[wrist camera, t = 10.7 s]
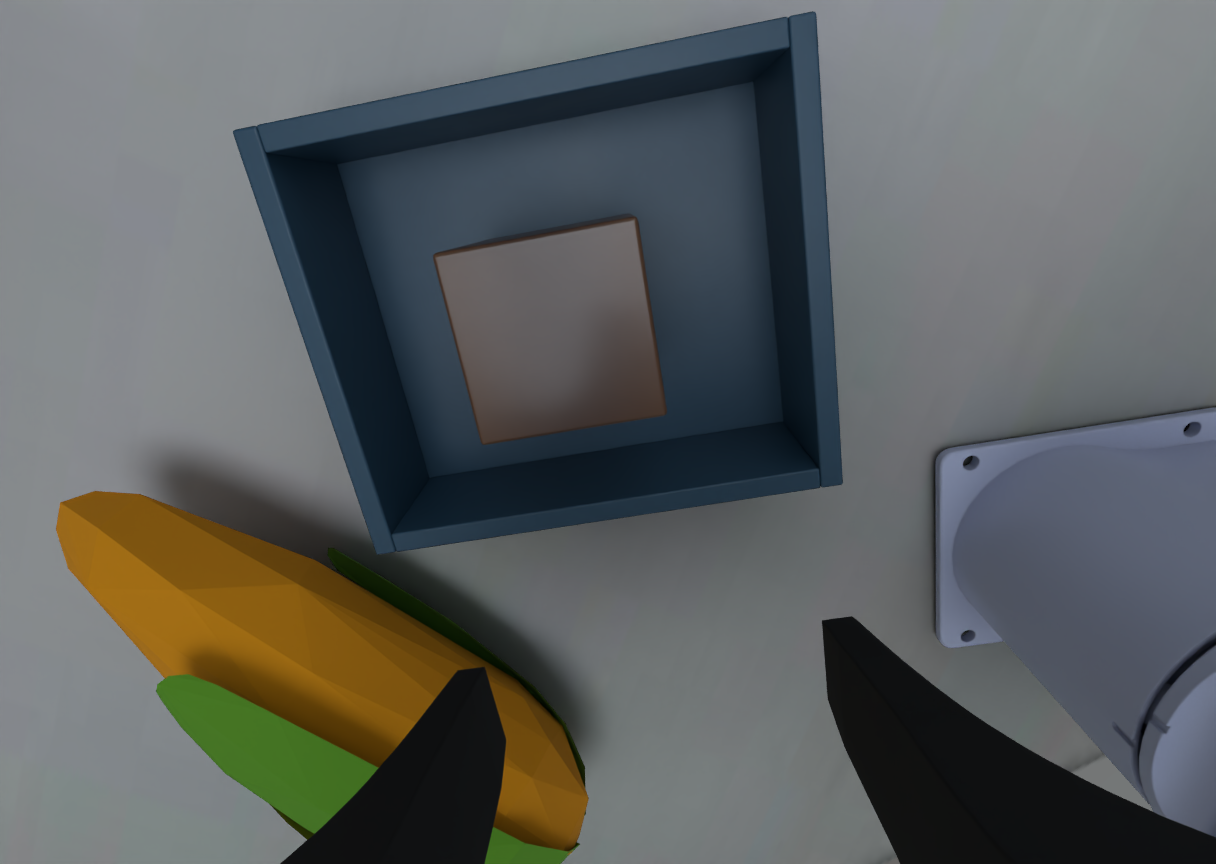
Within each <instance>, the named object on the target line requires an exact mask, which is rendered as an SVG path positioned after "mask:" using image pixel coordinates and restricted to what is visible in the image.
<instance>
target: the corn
mask: <svg viewBox="0 0 1216 864" xmlns="http://www.w3.org/2000/svg"><path fill="white" fill-rule="evenodd" d="M56 531H57V534H58V537H59V541H60V544H61V547H62V550H63V553H64V556H65V560H66V563H67V566H68V569H69V570H70V571H71V572H72V573H73V574H74V575H75V577H76V578H77V579H78V580H79V581H80V582H81V583H82V585H83V586H84V587H85V588H86V589H87V590H88V591H89V593H90V594H91V595H92V596H93V597H94V598H95V599H96V601H97V602H98V603H99V604H100V605H101V606H102V607H103V609H104V610H105V611H106V612H107V613H108V614H109V615H110V616H111V618H112V619H113V620H114V621H115V622H116V623H117V624H118V626H119V627H120V628H121V629H122V630H123V631H124V632H125V634H126V635H127V636H128V637H129V638H130V639H131V640H132V642H133V643H134V644H135V645H136V646H137V647H138V648H139V650H140V651H141V652H142V653H143V654H144V655H145V656H146V657H147V659H148V660H149V661H150V662H151V663H152V664H153V665H154V667H155V668H156V669H157V670H158V671H159V672H160V673H161V675H162V676H163V677H164V678H165V679H164V680H163V681H161V682H160V683H159V684H158V685H157V690H156V692H157V694H158V695H159V697H160V698H161V700H162V702H163V703H164V705H165V706H166V707H167V709H168V710H169V711H170V713H171V714H172V715H173V717H174V718H175V719H176V721H177V722H178V723H179V725H180V726H181V728H182V729H183V730H184V731H185V732H186V733H187V734H188V735H189V736H190V737H191V738H192V739H193V740H194V741H195V742H196V743H197V744H198V745H199V746H200V747H201V748H202V750H203V751H204V752H205V753H206V754H207V755H208V756H209V757H210V758H211V759H212V760H213V761H214V762H215V763H216V764H217V765H218V766H219V767H220V768H221V769H222V770H223V772H224V773H225V774H227V775H228V776H230V777H231V778H233V779H234V780H236V781H237V782H239V783H240V784H241V785H243V786H244V787H246V788H247V789H249V790H250V791H252V792H253V793H255V794H256V795H257V796H259V797H260V798H262V799H263V800H265V801H266V802H268V803H269V804H270V805H271V806H272V807H273V808H274V809H275V810H276V811H277V813H278V814H279V815H280V816H281V817H282V818H283V819H284V820H285V821H286V822H287V823H288V824H289V825H290V826H292V827H293V828H294V829H295V830H296V831H298V832H299V833H300V834H301V835H302V836H304V837H305V838H306V839H307V840H308V839H309V838H310V837H312V836H313V835H314V834H315V833H316V832H317V831H318V830H319V829H320V828H321V827H322V826H324V825H325V824H326V823H327V822H328V821H329V820H330V819H331V818H332V817H333V816H334V815H335V814H336V813H337V812H338V811H339V810H340V809H341V808H342V807H343V806H344V805H345V804H346V803H347V802H348V801H349V800H350V799H351V798H352V797H353V796H354V795H355V794H356V793H357V792H358V791H359V789H360V788H361V787H362V786H363V785H364V784H365V783H366V782H367V781H368V780H369V778H370V777H371V776H372V775H373V774H374V773H375V772H376V770H377V769H378V768H379V767H380V766H381V765H382V764H383V762H384V761H385V760H386V759H387V758H388V757H389V756H390V754H391V753H392V752H393V751H394V750H395V749H396V748H397V746H398V745H399V744H400V743H401V741H402V740H403V739H404V738H405V736H406V735H407V734H408V733H409V731H410V730H411V729H412V728H413V727H414V725H415V724H416V723H417V722H418V720H419V719H420V718H421V716H422V715H423V714H424V713H425V711H426V710H427V709H428V707H429V706H430V705H431V704H432V702H433V701H434V700H435V698H436V697H437V696H438V694H439V693H440V692H441V691H442V689H443V688H444V687H445V686H446V684H447V683H448V682H449V680H450V679H451V678H452V677H453V675H454V674H455V673H456V672H457V670H464V669H471V668H478V667H485V669H486V672H487V676H488V679H489V683H490V686H491V689H492V693H493V696H494V700H495V703H496V706H497V710H498V713H499V716H500V720H501V723H502V727H503V730H504V733H505V737H506V750H505V761H504V771H503V779H502V788H501V793H500V798H499V802H498V807H497V811H496V816H495V820H494V825H493V829H492V834H491V838H490V842H489V847H488V851H487V856H486V860H485V864H561V863H562V862H563V861H564V860H565V858H566V857H567V856H568V855H569V854H570V853H572V851H573V850H575V849H576V848H577V847H578V846H579V845H580V844H579V843H577V840H578V837H579V835H580V831H581V827H582V823H583V819H584V816H585V814H586V807H587V803H588V799H589V798H588V795H587V792H586V790H585V766H584V764H583V762H582V760H581V757H580V755H579V753H578V751H577V748H576V746H575V744H574V742H573V740H572V737H571V735H570V733H569V731H568V728H567V726H566V724H565V723H564V721H563V720H562V719H561V718H560V717H559V715H558V714H557V713H556V712H555V711H554V709H553V708H552V707H551V706H550V705H549V703H548V702H547V701H546V700H545V699H544V697H543V696H542V695H541V694H540V693H539V691H538V690H537V689H536V688H535V687H534V686H533V685H532V684H530V683H529V682H528V681H527V680H525V679H524V678H523V677H522V676H520V675H519V674H518V673H517V672H515V671H514V670H513V669H512V668H510V667H509V666H508V665H507V664H505V663H504V662H503V661H502V660H500V659H499V658H498V657H497V656H495V655H494V654H493V653H492V652H490V651H489V650H488V649H487V648H485V647H484V646H483V645H482V644H480V643H479V642H478V641H477V640H475V639H474V638H473V637H472V636H470V635H469V634H468V633H467V632H465V631H464V630H463V629H462V628H460V627H459V626H458V625H457V624H455V623H454V622H453V621H451V620H449V619H448V618H446V617H445V616H443V615H441V614H440V613H438V612H437V611H435V610H434V609H432V608H430V607H429V606H427V605H426V604H424V603H423V602H421V601H419V600H418V599H416V598H415V597H413V596H412V595H410V594H408V593H407V592H405V591H404V590H402V589H400V588H399V587H397V586H396V585H394V584H393V583H391V582H389V581H388V580H386V579H385V578H383V577H381V576H380V575H378V574H376V573H375V572H373V571H371V570H369V569H368V568H366V567H364V566H363V565H361V564H359V563H358V562H356V561H354V560H353V559H351V558H349V557H348V556H346V555H344V554H343V553H341V552H339V551H338V550H336V549H334V548H328V554H327V555H328V557H329V558H330V560H331V561H332V563H333V564H334V566H335V567H336V569H337V570H338V571H339V572H341V573H342V574H344V575H345V576H347V577H348V578H350V579H351V580H353V581H354V582H356V583H357V584H359V585H360V586H359V585H357V584H355V583H354V582H352V581H350V580H349V579H347V578H345V577H343V576H342V575H340V574H338V573H336V572H335V571H333V570H331V569H330V568H328V567H326V566H324V565H323V564H321V563H319V562H318V561H316V560H314V559H311V558H308V557H306V556H303V555H300V554H298V553H295V552H292V551H290V550H287V549H284V548H282V547H279V546H276V545H274V544H271V543H268V542H266V541H263V540H260V539H258V538H255V537H252V536H250V535H247V534H244V533H242V532H239V531H236V530H234V529H231V528H228V527H226V526H223V525H220V524H218V523H215V522H212V521H210V520H207V519H204V518H202V517H199V516H196V515H194V514H191V513H188V512H186V511H183V510H181V509H178V508H175V507H173V506H170V505H167V504H165V503H162V502H159V501H157V500H154V499H151V498H149V497H146V496H143V495H141V494H130V493H115V492H101V491H94V492H91V493H88V494H85V495H82V496H79V497H76V498H73V499H70V500H67V501H64V502H61V503H60V508H59V514H58V520H57V526H56ZM361 586H362V587H363V588H362V587H361ZM364 588H365V589H364ZM367 590H368V591H367ZM369 591H370V592H369ZM372 593H373V594H372Z"/></svg>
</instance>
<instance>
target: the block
mask: <svg viewBox="0 0 1216 864" xmlns="http://www.w3.org/2000/svg"><path fill="white" fill-rule="evenodd" d="M433 261H434V265H435V268H436V272H437V276H438V280H439V284H440V288H441V291H442V295H443V299H444V303H445V307H446V311H447V315H448V318H449V322H450V326H451V330H452V334H453V338H454V341H455V345H456V349H457V353H458V357H459V361H460V364H461V368H462V372H463V376H464V380H465V384H466V388H467V391H468V395H469V399H470V403H471V407H472V411H473V414H474V418H475V422H476V426H477V430H478V434H479V438H480V441H481V443H482V444H483V445H488V444H494V443H500V442H506V441H512V440H518V439H524V438H531V437H537V436H543V435H549V434H555V433H561V432H568V431H574V430H580V429H586V428H592V427H598V426H605V425H611V424H617V423H623V422H629V421H635V420H641V419H648V418H654V417H660V416H664V415H666V414H667V407H666V400H665V393H664V387H663V380H662V374H661V367H660V361H659V354H658V347H657V341H656V334H655V328H654V321H653V315H652V308H651V301H650V295H649V288H648V282H647V275H646V269H645V262H644V255H643V249H642V242H641V236H640V229H639V222H638V219H637V217H635V216H633V215H632V214H629V213H628V214H622V215H617V216H611V217H606V218H601V219H595V220H590V221H585V222H579V223H574V224H569V225H563V226H558V227H552V228H547V229H542V230H536V231H531V232H526V233H520V234H515V235H509V236H504V237H499V238H493V239H488V240H484V241H480V242H476V243H472V244H469V245H465V246H461V247H457V248H453V249H449V250H445V251H441V252H437V253H435V254H434V255H433Z"/></svg>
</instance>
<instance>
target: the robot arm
mask: <svg viewBox="0 0 1216 864" xmlns="http://www.w3.org/2000/svg"><path fill="white" fill-rule="evenodd" d="M1189 423H1190V426H1189V428H1188V429H1187V430H1186V431H1185V432H1184V429H1185V427H1186V426H1187V425H1188V424H1189ZM969 456H973V459H972V462H971V463H970V464H968V465H966V466H963V462H964V460H965V459H966V458H967V457H969ZM935 483H936V636H937V638H938V640H939V641H940V642H941V644H942V645H943V646H945V647H947V648H957V647H965V646H972V645H980V644H988V643H995V642H1003V641H1004V642H1005V643H1006V644H1007V645H1008V646H1009V647H1010V649H1011V650H1012V651H1013V652H1014V653H1015V654H1016V655H1017V656H1018V658H1019V659H1020V660H1021V661H1022V662H1023V663H1024V664H1025V665H1026V667H1027V668H1028V669H1029V670H1030V671H1031V672H1032V673H1033V674H1034V676H1035V677H1036V678H1037V679H1038V680H1039V681H1040V682H1041V683H1042V685H1043V686H1044V687H1045V688H1046V689H1047V690H1048V691H1049V692H1050V693H1051V695H1052V696H1053V697H1054V698H1055V699H1056V700H1057V701H1058V702H1059V704H1060V705H1061V706H1062V707H1063V708H1064V709H1065V710H1066V711H1067V713H1068V714H1069V715H1070V716H1071V717H1072V718H1073V719H1074V720H1075V722H1076V723H1077V724H1078V725H1079V726H1080V727H1081V728H1082V729H1083V731H1084V732H1085V733H1086V734H1087V735H1088V736H1089V737H1090V738H1091V740H1092V741H1093V742H1094V743H1095V744H1096V745H1097V746H1098V747H1099V749H1100V750H1101V751H1102V752H1103V753H1104V754H1105V755H1106V756H1107V758H1108V759H1109V760H1110V761H1111V762H1112V763H1113V764H1114V765H1115V766H1116V768H1117V769H1118V770H1119V771H1120V772H1121V773H1122V774H1123V775H1124V777H1125V778H1126V779H1127V780H1128V781H1129V782H1130V783H1131V784H1132V786H1133V787H1134V788H1135V789H1136V790H1137V791H1138V792H1139V793H1140V795H1141V796H1142V797H1143V798H1144V799H1145V800H1146V801H1147V802H1148V804H1150V805H1151V808H1152V810H1153V812H1152V811H1150V810H1148V809H1145V808H1143V807H1141V806H1138V805H1137V804H1134V803H1132V802H1130V801H1128V800H1126V799H1123V798H1121V797H1119V796H1117V795H1115V794H1112V793H1110V792H1108V791H1106V790H1104V789H1102V788H1100V787H1098V786H1096V785H1094V784H1092V783H1090V782H1088V781H1086V780H1084V779H1082V778H1080V777H1078V776H1076V775H1075V774H1073V773H1071V772H1069V771H1067V770H1065V769H1063V768H1061V767H1060V766H1058V765H1056V764H1054V763H1052V762H1050V761H1048V760H1046V759H1045V758H1043V757H1041V756H1039V755H1038V754H1036V753H1034V752H1032V751H1031V750H1029V749H1027V748H1025V747H1024V746H1022V745H1020V744H1019V743H1017V742H1015V741H1014V740H1012V739H1011V738H1009V737H1007V736H1006V735H1004V734H1003V733H1001V732H999V731H998V730H996V729H994V728H993V727H991V726H990V725H988V724H987V723H985V722H984V721H982V720H981V719H979V718H978V717H976V716H975V715H973V714H972V713H970V712H969V711H968V710H966V709H965V708H964V707H962V706H961V705H959V704H958V703H957V702H955V701H954V700H952V699H951V698H950V697H948V696H947V695H946V694H944V693H943V692H942V691H940V690H939V689H938V688H936V687H935V686H934V685H933V684H931V683H930V682H929V681H928V680H926V679H925V678H924V677H923V676H921V675H920V674H919V673H918V672H916V671H915V670H914V669H913V668H911V667H910V666H909V665H908V664H906V663H905V662H904V661H903V660H902V659H900V658H899V657H898V656H897V655H896V654H895V653H893V652H892V651H891V650H890V649H889V648H888V647H887V646H885V645H884V644H883V643H882V642H881V641H880V640H879V639H877V638H876V637H875V636H874V635H873V634H872V633H871V632H870V631H868V630H867V629H866V628H865V627H864V626H863V625H862V624H861V623H860V622H858V621H857V620H856V619H855V618H853V617H852V616H851V617H844V618H837V619H829V620H822V627H823V640H824V654H825V667H826V681H827V694H828V701H829V704H830V707H831V709H832V712H833V715H834V718H835V721H836V724H837V727H838V730H839V733H840V735H841V738H842V741H843V744H844V747H845V749H846V751H847V753H848V755H849V757H850V759H851V762H852V764H853V766H854V768H855V770H856V772H857V774H858V776H859V778H860V780H861V783H862V785H863V787H864V789H865V791H866V793H867V795H868V797H869V799H870V801H871V803H872V805H873V807H874V809H875V812H876V814H877V816H878V818H879V820H880V822H881V824H882V826H883V828H884V830H885V832H886V834H887V836H888V839H889V841H890V843H891V845H892V847H893V849H894V851H895V853H896V855H897V857H898V860H899V862H900V864H1216V407H1213V408H1206V409H1200V410H1193V411H1187V412H1180V413H1174V414H1167V415H1161V416H1154V417H1148V418H1141V419H1135V420H1128V421H1122V422H1115V423H1109V424H1102V425H1096V426H1089V427H1083V428H1076V429H1070V430H1063V431H1057V432H1050V433H1044V434H1037V435H1031V436H1024V437H1018V438H1011V439H1005V440H998V441H992V442H985V443H979V444H972V445H966V446H959V447H953V448H949V449H946V450H944V451H942V452H941V453H940V454H939V455H938V457H937V459H936V463H935ZM967 630H969V632H968V633H967V634H964V635H961V634H962V633H963V632H964V631H967ZM505 750H506V737H505V733H504V730H503V727H502V723H501V720H500V716H499V713H498V710H497V706H496V703H495V700H494V696H493V693H492V689H491V686H490V683H489V679H488V676H487V672H486V669H485V667H478V668H471V669H464V670H457V672H456V673H455V674H454V675H453V677H452V678H451V679H450V680H449V682H448V683H447V684H446V686H445V687H444V688H443V689H442V691H441V692H440V693H439V694H438V696H437V697H436V698H435V700H434V701H433V702H432V704H431V705H430V706H429V707H428V709H427V710H426V711H425V713H424V714H423V715H422V716H421V718H420V719H419V720H418V722H417V723H416V724H415V725H414V727H413V728H412V729H411V730H410V731H409V733H408V734H407V735H406V736H405V738H404V739H403V740H402V741H401V743H400V744H399V745H398V746H397V748H396V749H395V750H394V751H393V752H392V753H391V754H390V756H389V757H388V758H387V759H386V760H385V761H384V762H383V764H382V765H381V766H380V767H379V768H378V769H377V770H376V772H375V773H374V774H373V775H372V776H371V777H370V778H369V780H368V781H367V782H366V783H365V784H364V785H363V786H362V787H361V788H360V789H359V791H358V792H357V793H356V794H355V795H354V796H353V797H352V798H351V799H350V800H349V801H348V802H347V803H346V804H345V805H344V806H343V807H342V808H341V809H340V810H339V811H338V812H337V813H336V814H335V815H334V816H333V817H332V818H331V819H330V820H329V821H328V822H327V823H326V824H325V825H324V826H322V827H321V828H320V829H319V830H318V831H317V832H316V833H315V834H314V835H313V836H312V837H310V838H309V839H308V840H307V841H306V842H305V843H304V844H302V845H301V846H300V847H299V848H298V849H297V850H296V851H294V852H293V853H292V854H291V855H290V856H289V857H287V858H286V859H285V860H284V861H283V862H282V863H281V864H485V860H486V856H487V851H488V847H489V842H490V838H491V834H492V829H493V825H494V820H495V816H496V811H497V807H498V802H499V798H500V793H501V788H502V779H503V771H504V761H505Z"/></svg>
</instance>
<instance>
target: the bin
mask: <svg viewBox="0 0 1216 864" xmlns="http://www.w3.org/2000/svg"><path fill="white" fill-rule="evenodd" d="M233 134H234V137H235V140H236V143H237V146H238V149H239V152H240V155H241V158H242V161H243V164H244V167H245V169H246V172H247V175H248V178H249V181H250V184H251V187H252V190H253V193H254V196H255V199H256V202H257V205H258V208H259V211H260V214H261V216H262V219H263V222H264V225H265V228H266V231H267V234H268V237H269V240H270V243H271V246H272V249H273V252H274V255H275V258H276V260H277V263H278V266H279V269H280V272H281V275H282V278H283V281H284V284H285V287H286V290H287V293H288V296H289V299H290V302H291V305H292V307H293V310H294V313H295V316H296V319H297V322H298V325H299V328H300V331H301V334H302V337H303V340H304V343H305V346H306V349H307V351H308V354H309V357H310V360H311V363H312V366H313V369H314V372H315V375H316V378H317V381H318V384H319V387H320V390H321V393H322V396H323V398H324V401H325V404H326V407H327V410H328V413H329V416H330V419H331V422H332V425H333V428H334V431H335V434H336V437H337V440H338V442H339V445H340V448H341V451H342V454H343V457H344V460H345V463H346V466H347V469H348V472H349V475H350V478H351V481H352V484H353V487H354V489H355V492H356V495H357V498H358V501H359V504H360V507H361V510H362V513H363V516H364V519H365V522H366V525H367V528H368V531H369V533H370V536H371V539H372V542H373V545H374V548H375V551H376V554H378V555H379V554H386V553H393V552H395V551H397V552H400V551H407V550H413V549H420V548H426V547H433V546H440V545H446V544H453V543H459V542H466V541H473V540H479V539H486V538H492V537H499V536H506V535H512V534H519V533H525V532H532V531H539V530H545V529H552V528H558V527H565V526H572V525H578V524H585V523H591V522H598V521H605V520H611V519H618V518H624V517H631V516H638V515H644V514H651V513H657V512H664V511H671V510H677V509H684V508H690V507H697V506H704V505H710V504H717V503H723V502H730V501H737V500H743V499H750V498H756V497H763V496H770V495H776V494H783V493H789V492H796V491H803V490H809V489H816V488H820V486H821V487H829V486H835V485H841V484H842V483H843V477H842V460H841V442H840V425H839V407H838V389H837V372H836V354H835V336H834V319H833V301H832V284H831V266H830V248H829V231H828V213H827V195H826V178H825V160H824V143H823V125H822V107H821V90H820V72H819V55H818V37H817V19H816V13H815V12H813V11H812V12H807V13H803V14H798V15H793V16H790V17H789V18H787V17H782V18H777V19H772V20H768V21H763V22H758V23H753V24H748V25H743V26H738V27H733V28H728V29H724V30H719V31H714V32H709V33H704V34H699V35H694V36H689V37H685V38H680V39H675V40H670V41H665V42H660V43H655V44H650V45H645V46H641V47H636V48H631V49H626V50H621V51H616V52H611V53H606V54H602V55H597V56H592V57H587V58H582V59H577V60H572V61H567V62H562V63H558V64H553V65H548V66H543V67H538V68H533V69H528V70H523V71H519V72H514V73H509V74H504V75H499V76H494V77H489V78H484V79H480V80H475V81H470V82H465V83H460V84H455V85H450V86H445V87H440V88H436V89H431V90H426V91H421V92H416V93H411V94H406V95H401V96H397V97H392V98H387V99H382V100H377V101H372V102H367V103H362V104H357V105H353V106H348V107H343V108H338V109H333V110H328V111H323V112H318V113H314V114H309V115H304V116H299V117H294V118H289V119H284V120H279V121H274V122H270V123H265V124H260V125H258V126H251V127H246V128H241V129H237V130H234V131H233ZM628 213H629V214H632V215H633V216H635V217H637V219H638V222H639V229H640V236H641V242H642V249H643V255H644V262H645V269H646V275H647V282H648V288H649V295H650V301H651V308H652V315H653V321H654V328H655V334H656V341H657V347H658V354H659V361H660V367H661V374H662V380H663V387H664V393H665V400H666V407H667V414H666V415H664V416H660V417H654V418H648V419H641V420H635V421H629V422H623V423H617V424H611V425H605V426H598V427H592V428H586V429H580V430H574V431H568V432H561V433H555V434H549V435H543V436H537V437H531V438H524V439H518V440H512V441H506V442H500V443H494V444H488V445H483V444H482V443H481V441H480V438H479V434H478V430H477V426H476V422H475V418H474V414H473V411H472V407H471V403H470V399H469V395H468V391H467V388H466V384H465V380H464V376H463V372H462V368H461V364H460V361H459V357H458V353H457V349H456V345H455V341H454V338H453V334H452V330H451V326H450V322H449V318H448V315H447V311H446V307H445V303H444V299H443V295H442V291H441V288H440V284H439V280H438V276H437V272H436V268H435V265H434V261H433V255H434V254H435V253H437V252H441V251H445V250H449V249H453V248H457V247H461V246H465V245H469V244H472V243H476V242H480V241H484V240H488V239H493V238H499V237H504V236H509V235H515V234H520V233H526V232H531V231H536V230H542V229H547V228H552V227H558V226H563V225H569V224H574V223H579V222H585V221H590V220H595V219H601V218H606V217H611V216H617V215H622V214H628Z"/></svg>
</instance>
